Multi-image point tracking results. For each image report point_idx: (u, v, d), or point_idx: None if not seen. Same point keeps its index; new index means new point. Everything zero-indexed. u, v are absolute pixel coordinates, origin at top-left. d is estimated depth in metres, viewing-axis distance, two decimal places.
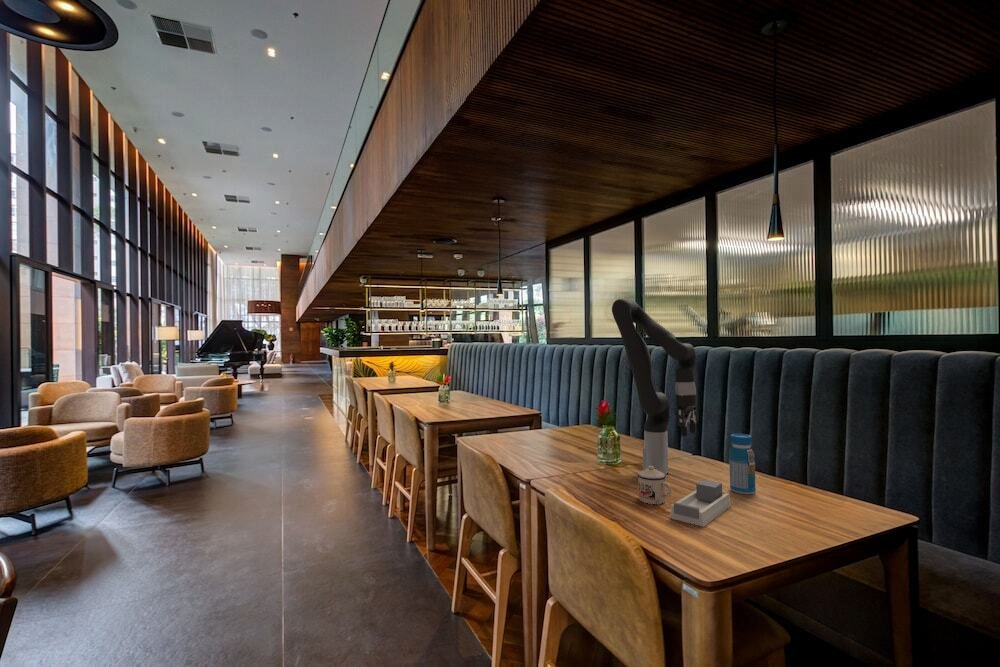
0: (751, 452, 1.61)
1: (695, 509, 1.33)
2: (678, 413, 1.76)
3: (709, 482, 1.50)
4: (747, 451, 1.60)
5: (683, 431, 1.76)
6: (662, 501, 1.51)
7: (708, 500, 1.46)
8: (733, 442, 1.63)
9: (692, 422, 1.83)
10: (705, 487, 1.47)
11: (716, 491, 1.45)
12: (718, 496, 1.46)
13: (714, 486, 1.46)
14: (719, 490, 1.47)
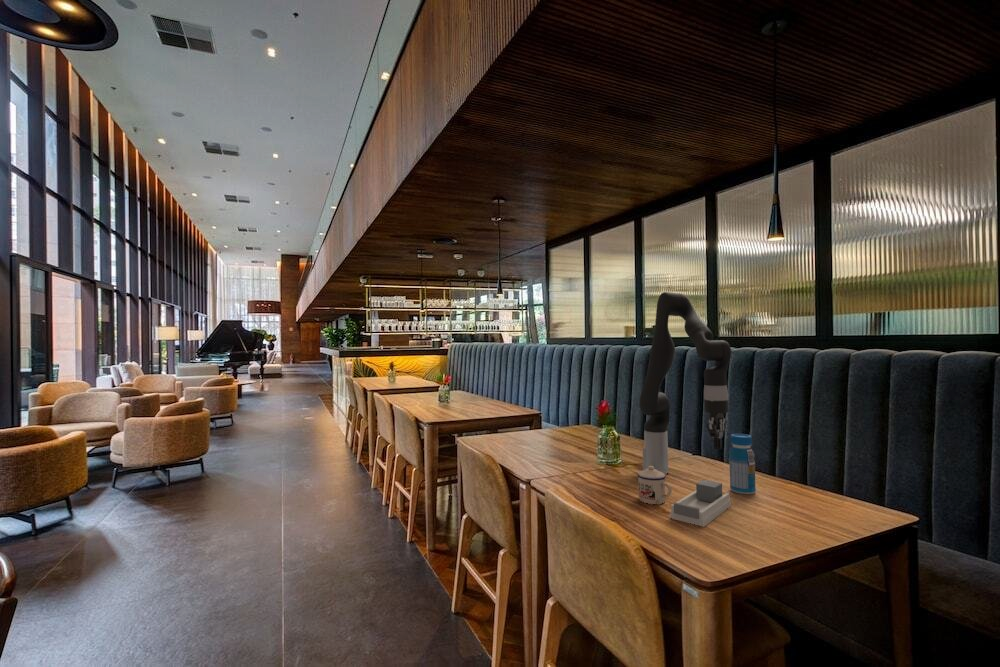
0: (751, 452, 1.61)
1: (695, 509, 1.33)
2: (709, 428, 1.52)
3: (709, 482, 1.50)
4: (747, 451, 1.60)
5: (717, 444, 1.54)
6: (662, 501, 1.51)
7: (708, 500, 1.46)
8: (733, 442, 1.63)
9: None
10: (705, 487, 1.47)
11: (716, 491, 1.45)
12: (718, 496, 1.46)
13: (714, 486, 1.46)
14: (719, 490, 1.47)
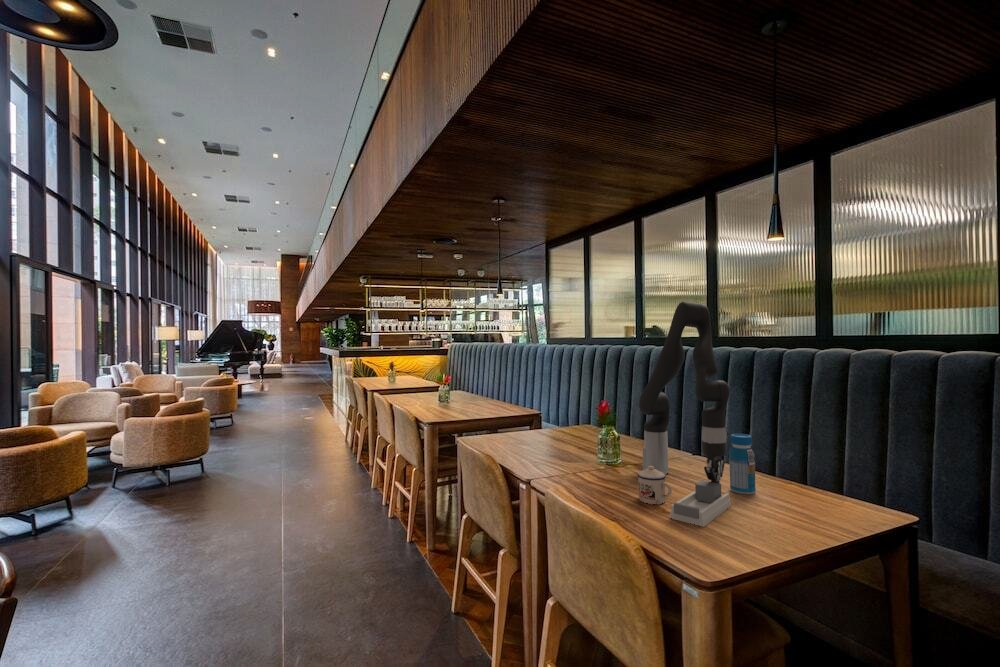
0: (751, 452, 1.61)
1: (695, 509, 1.33)
2: (707, 471, 1.49)
3: (708, 483, 1.49)
4: (747, 451, 1.60)
5: None
6: (662, 501, 1.51)
7: (707, 501, 1.46)
8: (733, 442, 1.63)
9: None
10: (704, 488, 1.46)
11: (715, 491, 1.45)
12: (717, 497, 1.46)
13: (713, 487, 1.45)
14: (718, 491, 1.47)
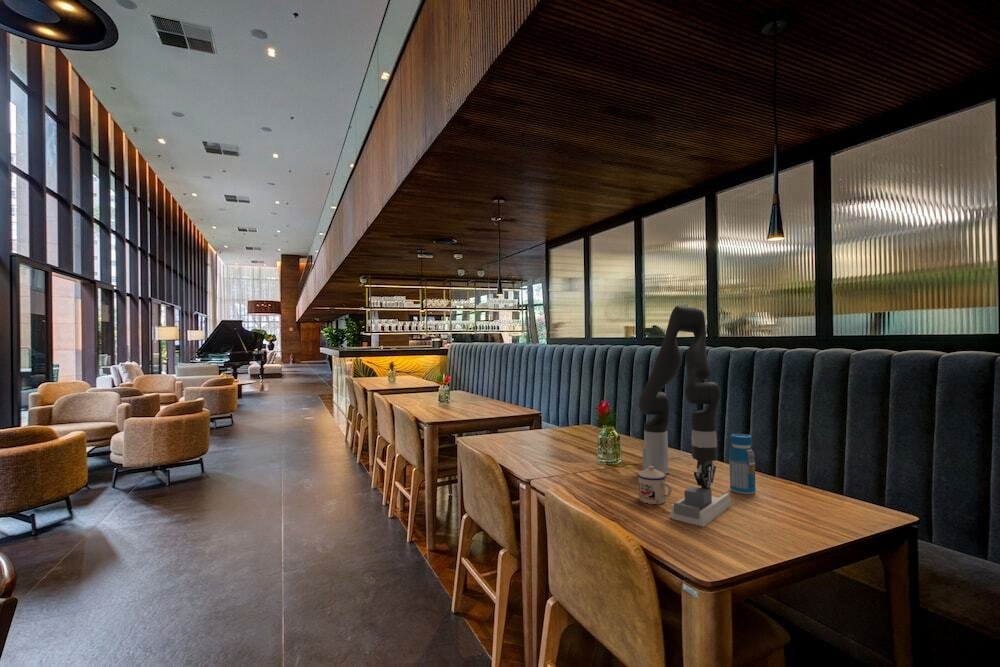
0: (751, 452, 1.61)
1: (695, 509, 1.33)
2: (696, 477, 1.43)
3: (697, 489, 1.43)
4: (747, 451, 1.60)
5: None
6: (662, 501, 1.51)
7: None
8: (733, 442, 1.63)
9: None
10: (693, 494, 1.40)
11: (705, 498, 1.39)
12: (707, 503, 1.40)
13: (703, 493, 1.39)
14: (708, 497, 1.41)
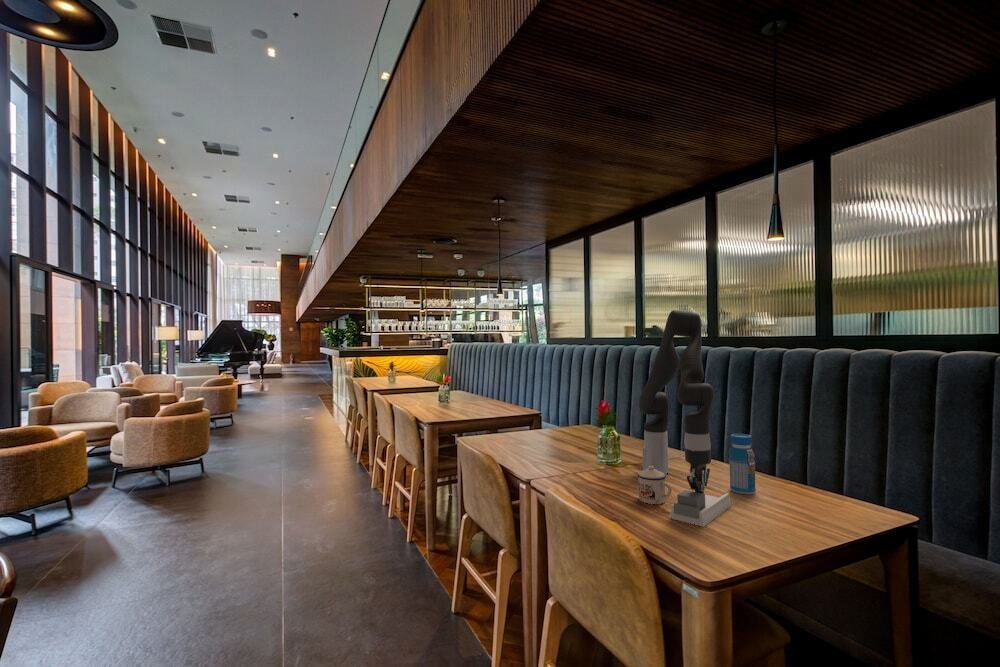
0: (751, 452, 1.61)
1: (695, 509, 1.33)
2: (689, 481, 1.39)
3: (691, 493, 1.39)
4: (747, 451, 1.60)
5: None
6: (662, 501, 1.51)
7: None
8: (733, 442, 1.63)
9: None
10: (686, 498, 1.37)
11: (698, 502, 1.35)
12: (700, 508, 1.36)
13: (696, 497, 1.36)
14: (702, 501, 1.37)
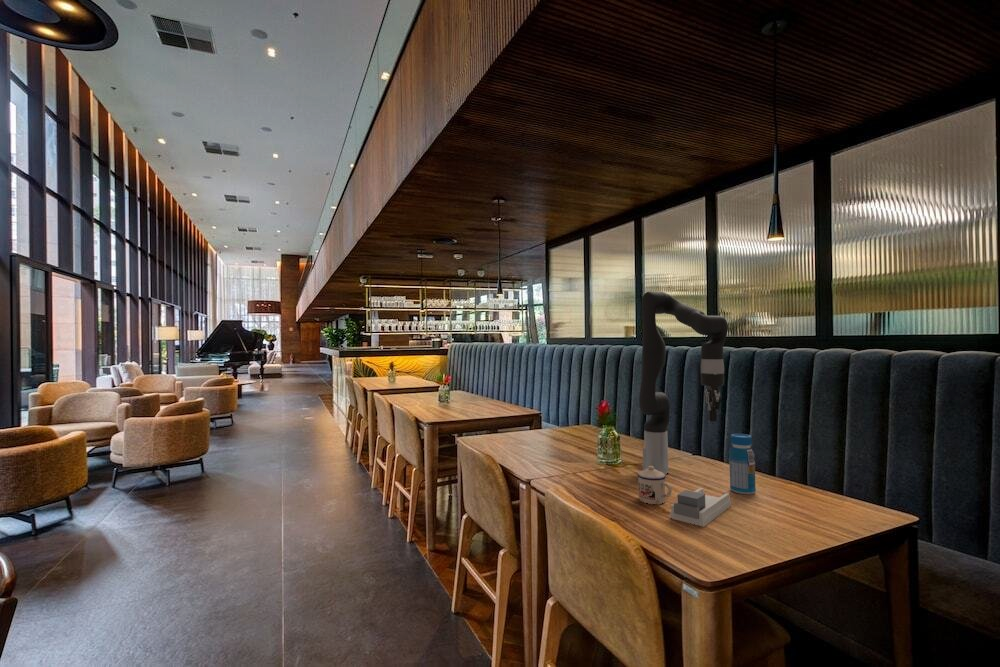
0: (751, 452, 1.61)
1: (695, 509, 1.33)
2: (715, 401, 1.55)
3: (691, 493, 1.39)
4: (747, 451, 1.60)
5: (714, 416, 1.59)
6: (662, 501, 1.51)
7: None
8: (733, 442, 1.63)
9: None
10: (686, 498, 1.37)
11: (698, 502, 1.35)
12: (701, 508, 1.36)
13: (696, 497, 1.36)
14: (702, 501, 1.37)
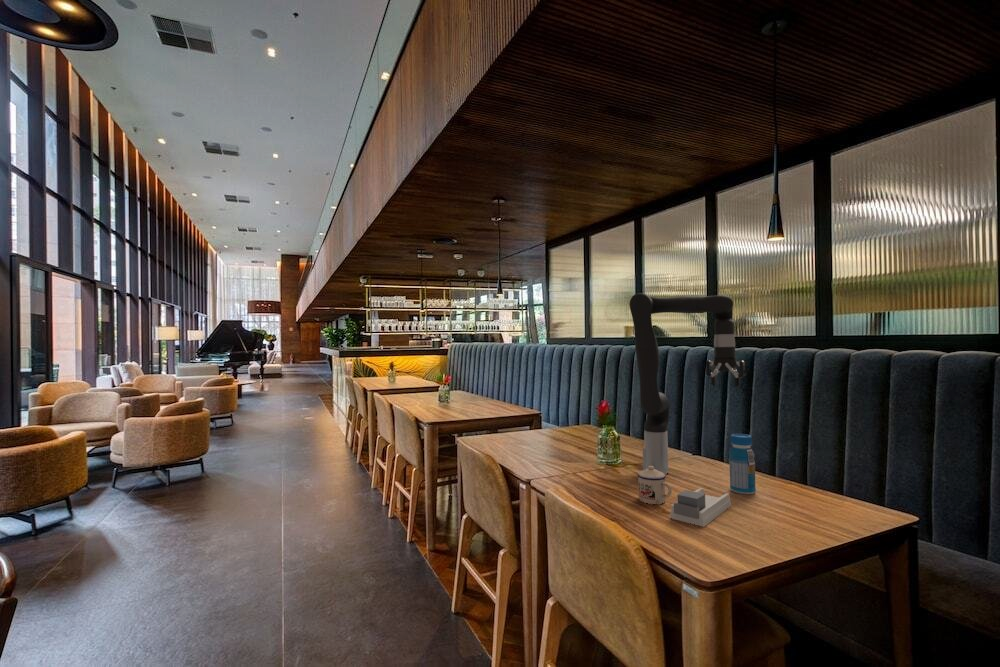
0: (751, 452, 1.61)
1: (695, 509, 1.33)
2: (743, 364, 1.75)
3: (691, 493, 1.39)
4: (747, 451, 1.60)
5: (739, 382, 1.77)
6: (662, 501, 1.51)
7: None
8: (733, 442, 1.63)
9: (715, 376, 1.83)
10: (686, 498, 1.37)
11: (698, 502, 1.35)
12: (701, 508, 1.36)
13: (696, 497, 1.36)
14: (702, 501, 1.37)
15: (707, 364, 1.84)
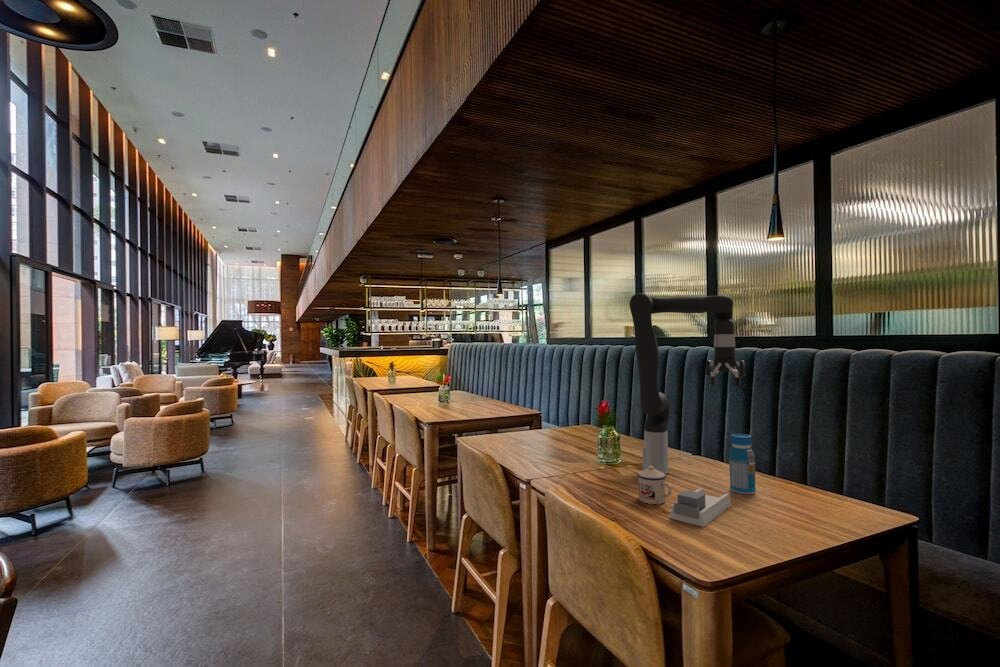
0: (751, 452, 1.61)
1: (695, 509, 1.33)
2: (743, 364, 1.75)
3: (691, 493, 1.39)
4: (747, 451, 1.60)
5: (740, 382, 1.76)
6: (662, 501, 1.51)
7: None
8: (733, 442, 1.63)
9: (714, 375, 1.83)
10: (686, 498, 1.37)
11: (698, 502, 1.35)
12: (701, 508, 1.36)
13: (696, 497, 1.36)
14: (702, 501, 1.37)
15: (707, 364, 1.84)
